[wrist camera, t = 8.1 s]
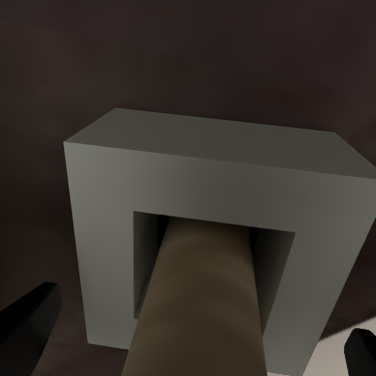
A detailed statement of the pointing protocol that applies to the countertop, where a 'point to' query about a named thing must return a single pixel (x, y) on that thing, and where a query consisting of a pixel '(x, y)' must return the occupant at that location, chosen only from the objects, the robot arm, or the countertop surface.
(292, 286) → the socket block
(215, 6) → the countertop surface
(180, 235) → the peg
